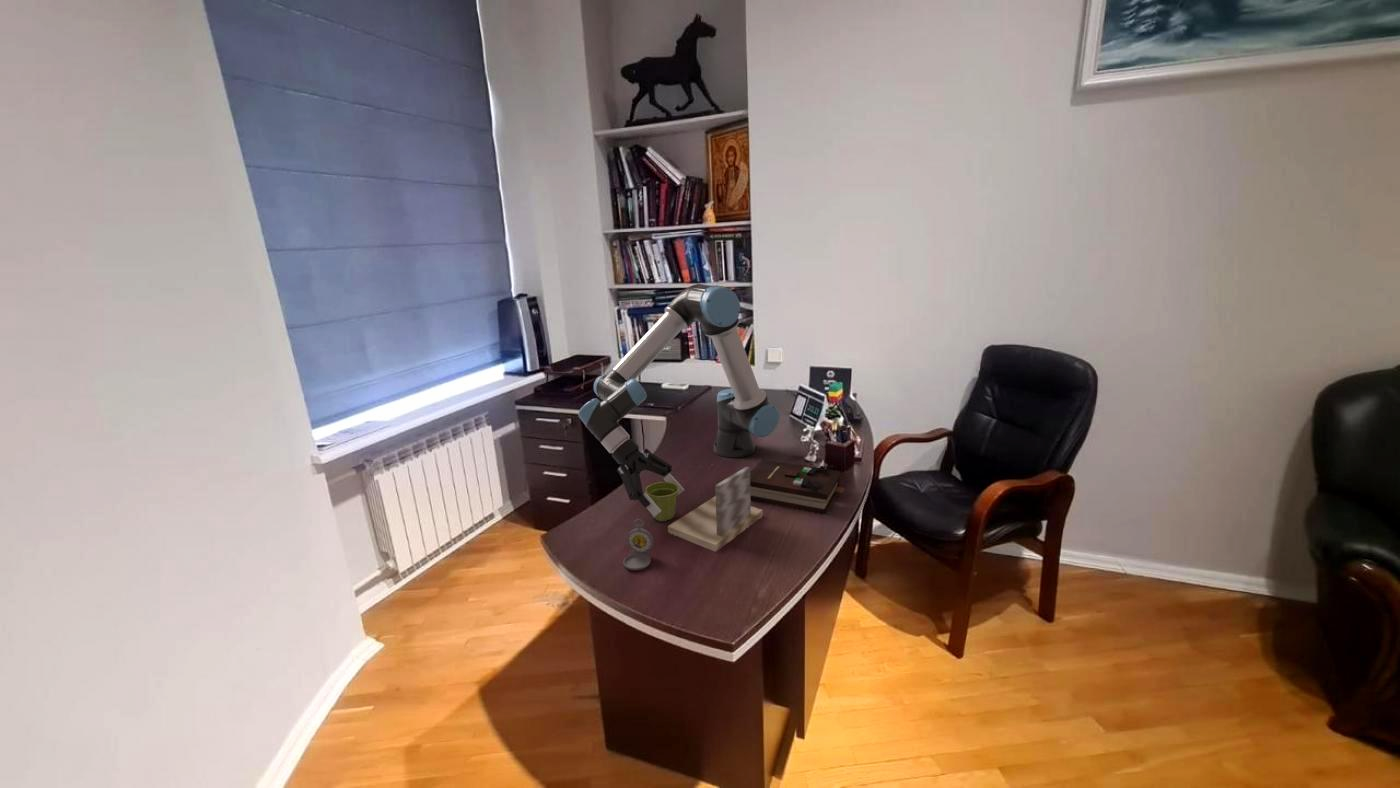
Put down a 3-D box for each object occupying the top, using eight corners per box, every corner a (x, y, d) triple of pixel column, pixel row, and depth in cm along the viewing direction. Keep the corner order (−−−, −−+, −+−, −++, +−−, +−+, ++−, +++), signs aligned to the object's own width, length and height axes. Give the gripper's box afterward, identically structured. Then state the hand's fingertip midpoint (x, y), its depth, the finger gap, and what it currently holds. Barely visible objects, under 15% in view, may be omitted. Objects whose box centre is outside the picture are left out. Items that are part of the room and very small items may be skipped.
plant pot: (649, 508, 160) (647, 481, 157) (681, 508, 159) (680, 481, 157) (645, 525, 151) (643, 496, 148) (679, 524, 150) (677, 496, 148)
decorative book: (756, 454, 178) (849, 468, 165) (756, 475, 180) (848, 491, 167) (733, 477, 161) (834, 495, 148) (733, 500, 164) (833, 520, 150)
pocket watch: (628, 574, 129) (624, 537, 126) (618, 556, 136) (615, 520, 133) (660, 565, 132) (658, 528, 129) (649, 548, 139) (647, 513, 136)
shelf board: (717, 501, 163) (715, 451, 158) (762, 516, 153) (762, 463, 148) (668, 532, 146) (664, 478, 142) (715, 552, 137) (713, 494, 132)
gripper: (636, 438, 167) (682, 491, 165) (587, 470, 146) (639, 530, 144) (650, 424, 164) (697, 477, 162) (602, 454, 142) (655, 516, 140)
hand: (670, 502), depth 153 cm, fingers open, 13 cm apart
